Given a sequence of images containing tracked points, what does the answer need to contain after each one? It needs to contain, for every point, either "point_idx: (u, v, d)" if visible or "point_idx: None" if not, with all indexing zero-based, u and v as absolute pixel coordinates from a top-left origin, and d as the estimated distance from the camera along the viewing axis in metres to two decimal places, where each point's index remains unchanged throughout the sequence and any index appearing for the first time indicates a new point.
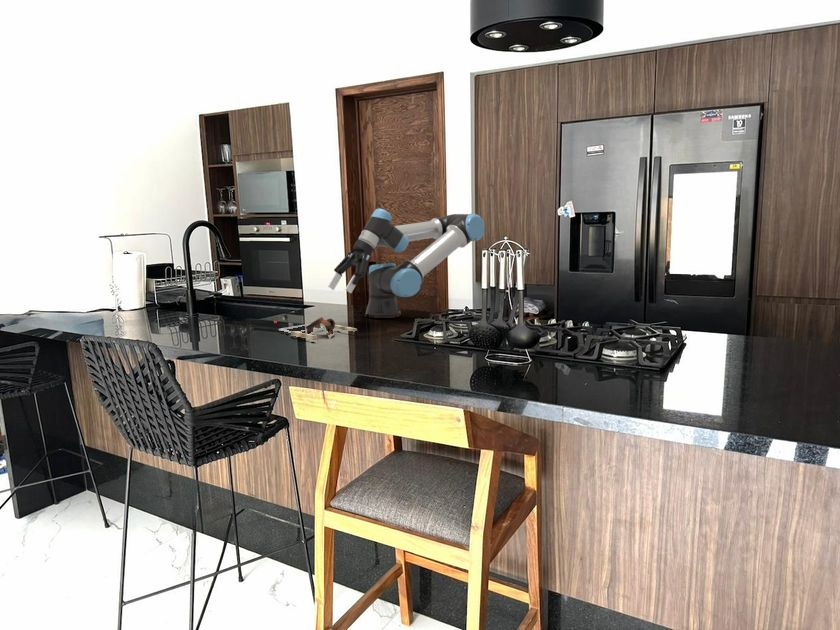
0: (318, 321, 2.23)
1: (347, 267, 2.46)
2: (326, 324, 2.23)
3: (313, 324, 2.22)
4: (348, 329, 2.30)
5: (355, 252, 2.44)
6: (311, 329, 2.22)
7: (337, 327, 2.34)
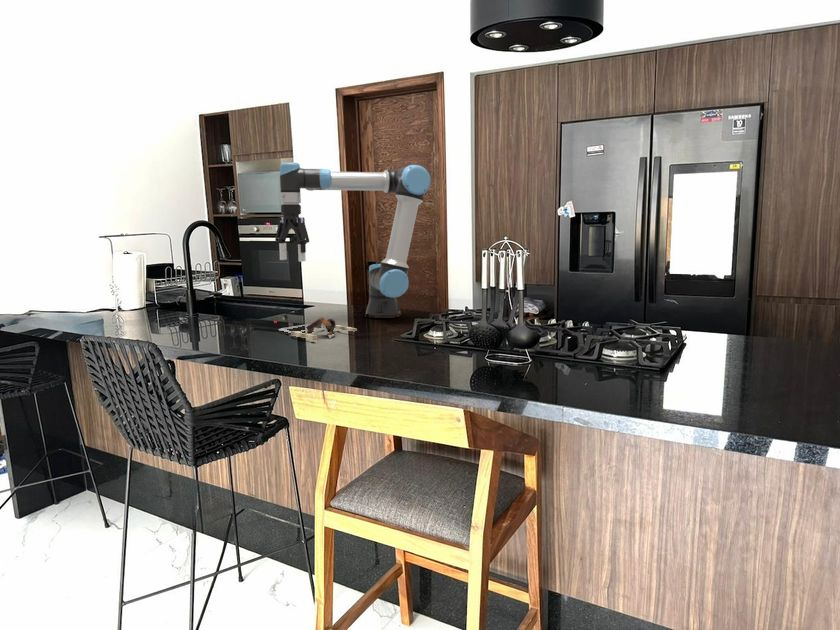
0: (319, 321, 2.22)
1: (286, 233, 2.42)
2: (327, 324, 2.23)
3: (314, 324, 2.22)
4: (348, 329, 2.30)
5: (285, 216, 2.39)
6: (312, 329, 2.21)
7: (337, 327, 2.34)
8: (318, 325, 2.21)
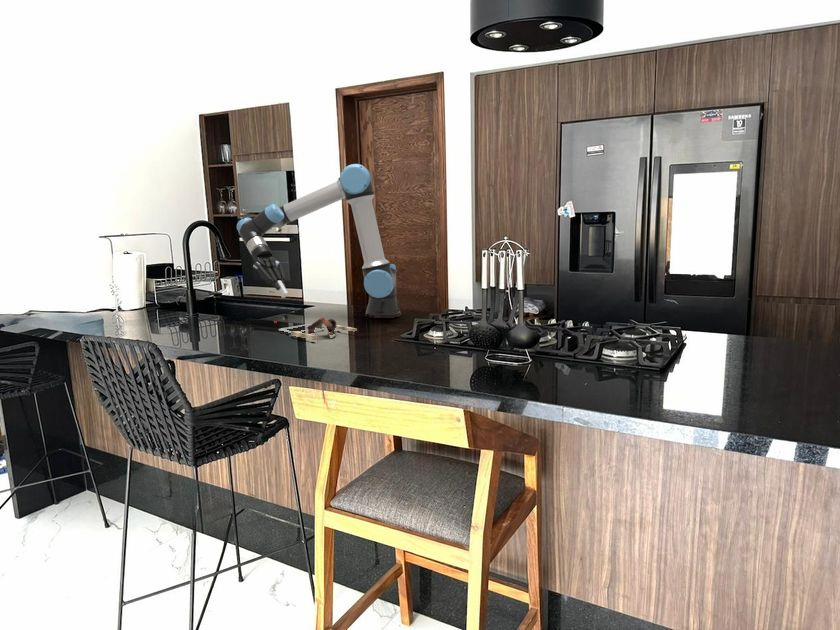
0: (320, 321, 2.22)
1: (274, 271, 2.45)
2: (328, 324, 2.22)
3: (315, 324, 2.21)
4: (348, 329, 2.30)
5: None
6: (313, 329, 2.21)
7: (337, 327, 2.34)
8: (319, 325, 2.21)
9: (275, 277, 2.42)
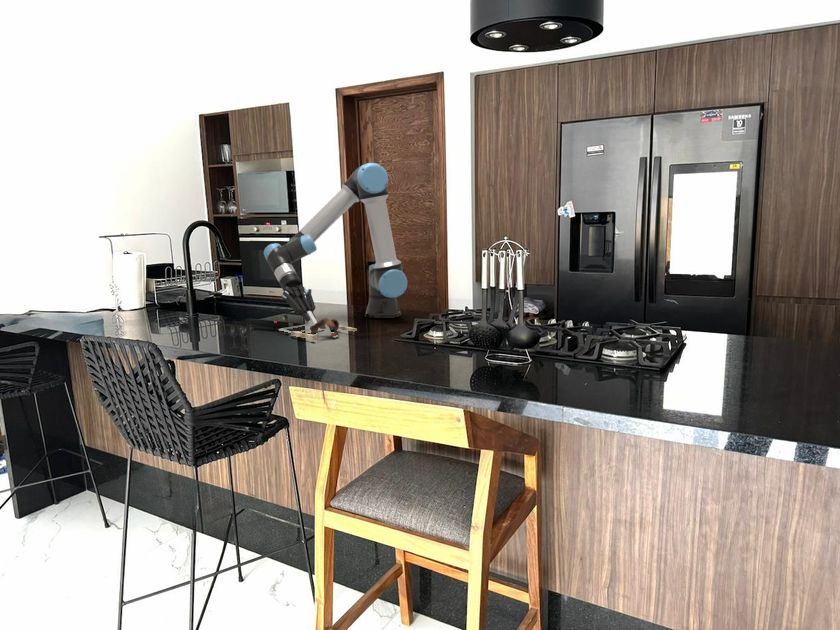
0: (323, 322, 2.20)
1: (303, 301, 2.32)
2: (331, 325, 2.21)
3: (318, 325, 2.20)
4: (348, 329, 2.30)
5: None
6: (316, 330, 2.20)
7: None
8: (322, 326, 2.20)
9: (305, 307, 2.30)
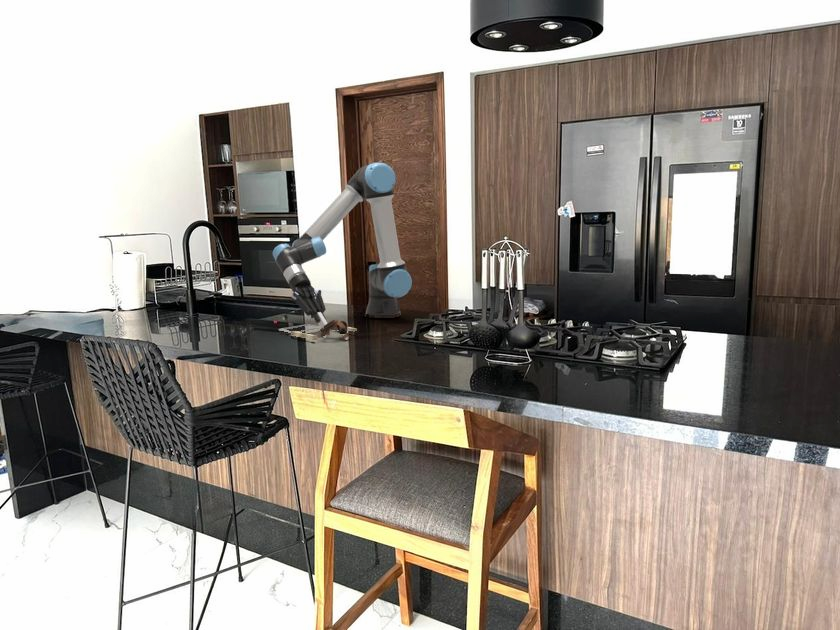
0: (334, 323, 2.17)
1: (313, 302, 2.29)
2: (342, 326, 2.18)
3: (329, 327, 2.16)
4: (348, 329, 2.30)
5: None
6: (328, 332, 2.16)
7: None
8: (334, 327, 2.16)
9: (315, 308, 2.26)
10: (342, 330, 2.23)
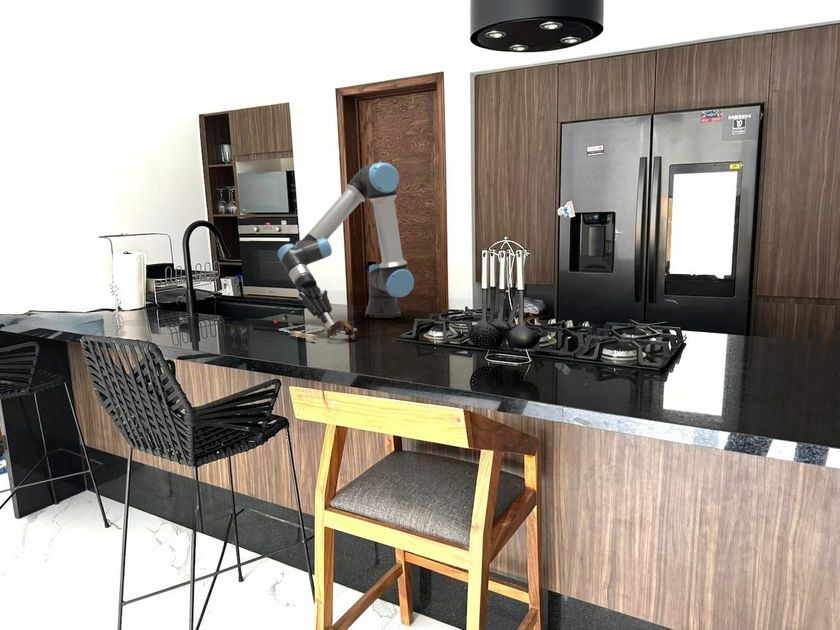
0: (341, 324, 2.15)
1: (319, 302, 2.27)
2: (349, 327, 2.16)
3: (336, 327, 2.14)
4: None
5: None
6: (335, 333, 2.14)
7: None
8: (341, 328, 2.14)
9: (321, 309, 2.24)
10: (348, 331, 2.22)
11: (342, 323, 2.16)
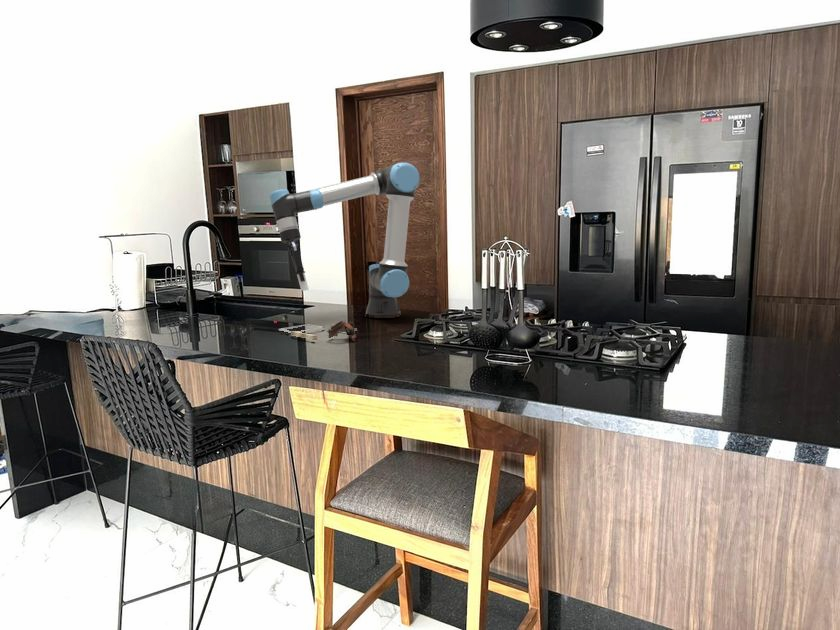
0: (342, 325, 2.15)
1: None
2: (350, 327, 2.16)
3: (338, 328, 2.14)
4: None
5: None
6: (336, 333, 2.14)
7: None
8: (342, 329, 2.14)
9: None
10: (349, 331, 2.21)
11: (343, 324, 2.15)
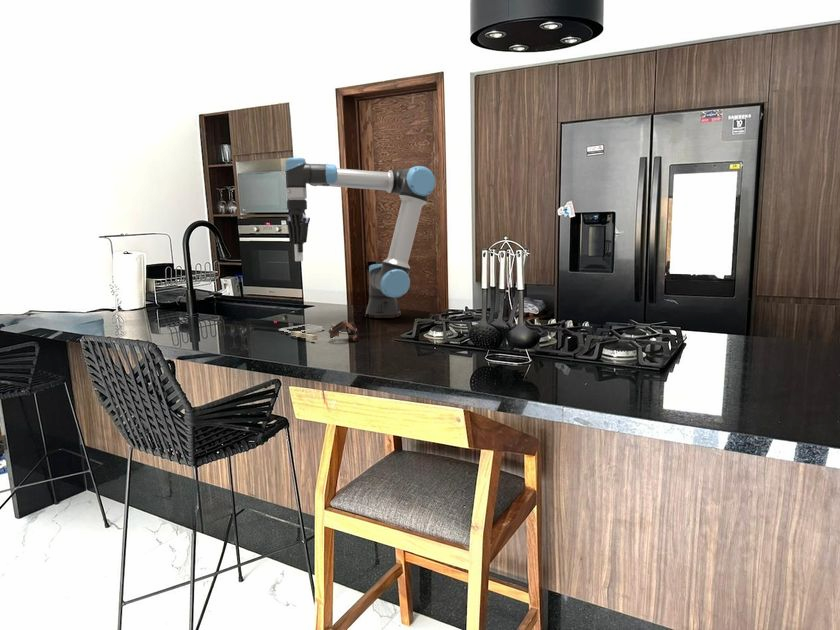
0: (343, 325, 2.15)
1: None
2: (351, 328, 2.16)
3: (339, 328, 2.14)
4: None
5: (290, 210, 2.39)
6: (337, 333, 2.13)
7: None
8: (343, 329, 2.14)
9: None
10: (350, 331, 2.21)
11: (344, 324, 2.15)
